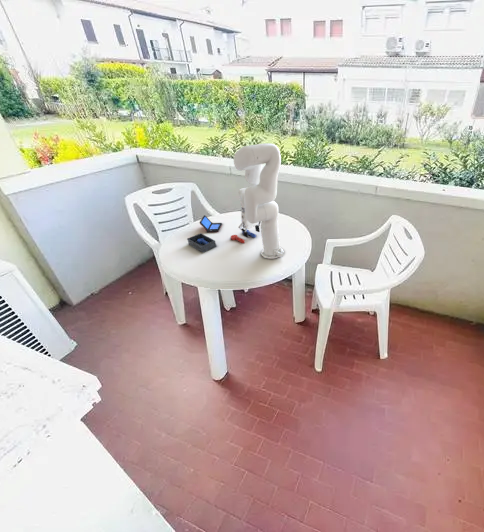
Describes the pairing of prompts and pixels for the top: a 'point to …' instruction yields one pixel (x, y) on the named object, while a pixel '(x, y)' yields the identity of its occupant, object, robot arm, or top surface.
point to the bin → (201, 247)
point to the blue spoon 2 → (250, 233)
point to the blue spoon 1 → (202, 241)
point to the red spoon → (237, 238)
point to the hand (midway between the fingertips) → (252, 234)
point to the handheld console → (210, 225)
